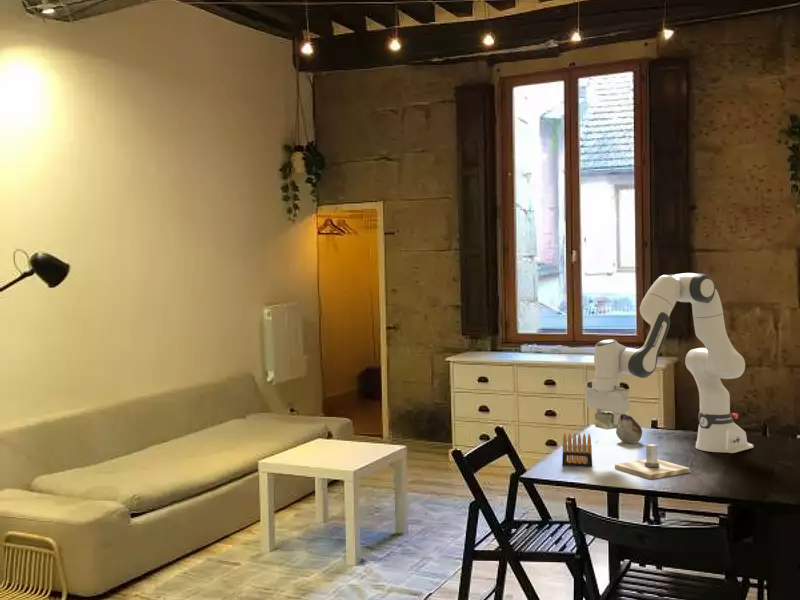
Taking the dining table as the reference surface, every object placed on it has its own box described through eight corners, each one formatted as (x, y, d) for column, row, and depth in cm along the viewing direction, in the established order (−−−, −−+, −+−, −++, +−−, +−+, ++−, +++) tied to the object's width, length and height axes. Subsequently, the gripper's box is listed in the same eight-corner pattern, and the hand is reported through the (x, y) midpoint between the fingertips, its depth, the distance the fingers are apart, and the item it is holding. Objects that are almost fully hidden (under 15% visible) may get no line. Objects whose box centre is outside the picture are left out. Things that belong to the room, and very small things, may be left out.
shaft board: (653, 462, 321) (653, 437, 320) (689, 472, 304) (689, 446, 304) (614, 468, 313) (614, 443, 312) (650, 479, 296) (649, 453, 296)
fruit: (613, 443, 353) (613, 414, 352) (620, 439, 361) (620, 410, 360) (638, 446, 347) (638, 416, 347) (645, 441, 355) (645, 412, 355)
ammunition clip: (592, 466, 317) (592, 433, 316) (591, 467, 315) (591, 434, 314) (562, 464, 320) (562, 432, 320) (562, 465, 318) (561, 433, 318)
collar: (609, 424, 321) (608, 411, 321) (620, 427, 315) (620, 413, 315) (595, 426, 318) (595, 413, 318) (606, 429, 313) (606, 415, 312)
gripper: (633, 387, 308) (634, 426, 309) (596, 380, 326) (596, 417, 327) (619, 389, 305) (620, 428, 306) (582, 382, 324) (583, 419, 324)
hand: (607, 422), depth 317 cm, fingers closed on collar, 6 cm apart
